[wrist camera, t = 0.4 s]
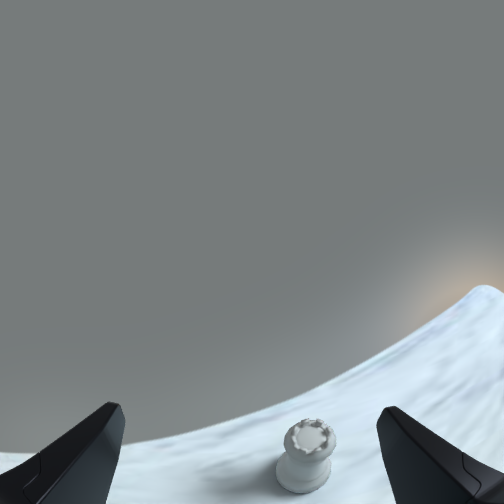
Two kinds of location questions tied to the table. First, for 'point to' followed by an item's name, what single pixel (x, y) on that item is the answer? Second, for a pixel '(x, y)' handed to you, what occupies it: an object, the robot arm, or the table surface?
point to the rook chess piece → (306, 456)
